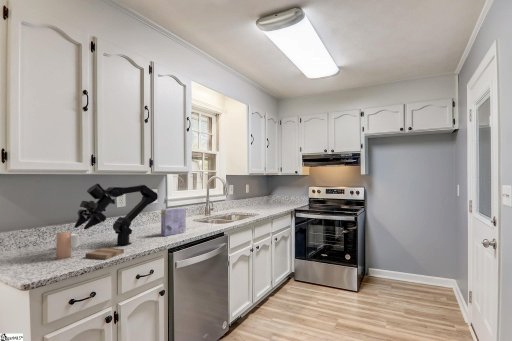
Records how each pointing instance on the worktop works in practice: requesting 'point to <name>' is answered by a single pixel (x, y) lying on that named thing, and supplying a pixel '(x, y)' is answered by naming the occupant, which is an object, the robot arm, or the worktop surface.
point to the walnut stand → (104, 253)
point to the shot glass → (74, 240)
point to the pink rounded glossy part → (63, 245)
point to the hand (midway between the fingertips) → (79, 228)
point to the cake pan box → (173, 221)
